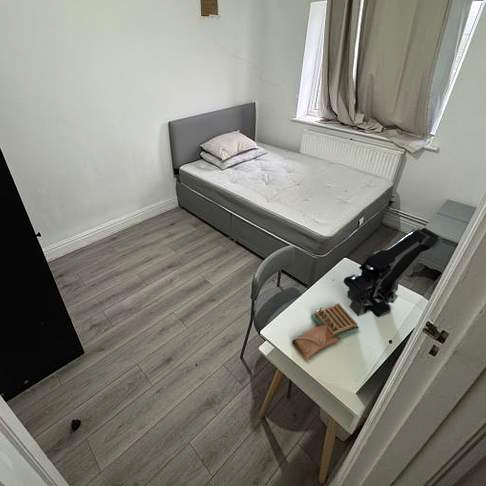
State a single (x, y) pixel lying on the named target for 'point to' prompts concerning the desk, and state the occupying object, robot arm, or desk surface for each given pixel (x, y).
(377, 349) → the desk surface
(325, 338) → the sunglasses case
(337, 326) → the wooden peg rack
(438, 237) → the robot arm
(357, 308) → the black box
